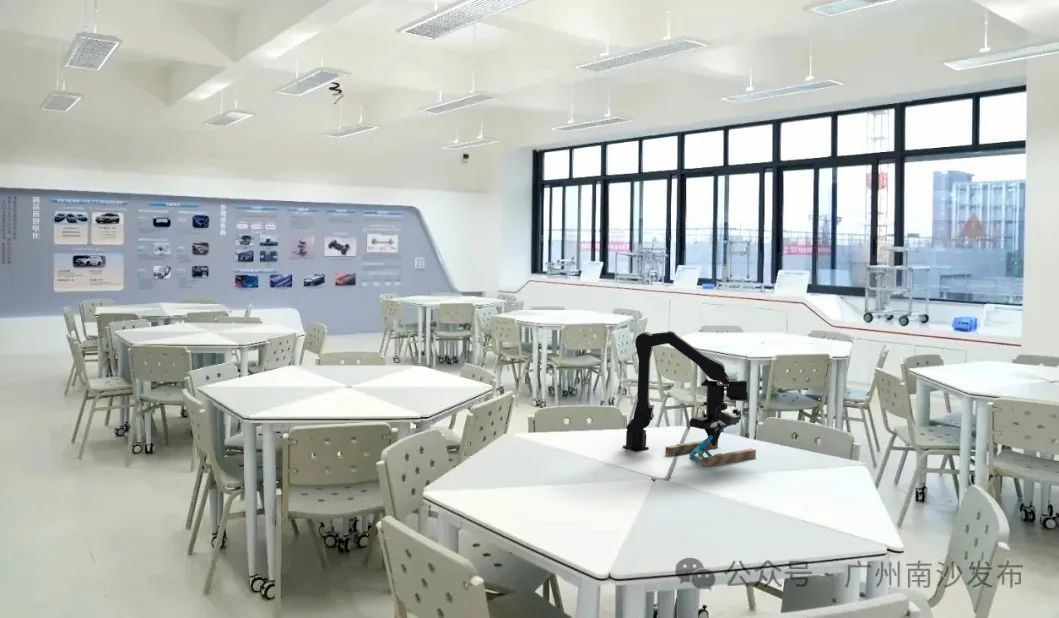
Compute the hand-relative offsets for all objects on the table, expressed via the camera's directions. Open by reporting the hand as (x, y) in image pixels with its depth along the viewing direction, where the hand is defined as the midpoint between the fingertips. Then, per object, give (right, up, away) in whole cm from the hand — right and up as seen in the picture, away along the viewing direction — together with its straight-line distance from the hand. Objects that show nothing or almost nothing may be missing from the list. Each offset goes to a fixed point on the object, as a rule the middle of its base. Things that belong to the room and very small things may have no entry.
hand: (714, 445), depth 266 cm
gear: (-5, -4, -4) cm, 8 cm away
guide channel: (-1, -3, 0) cm, 4 cm away
